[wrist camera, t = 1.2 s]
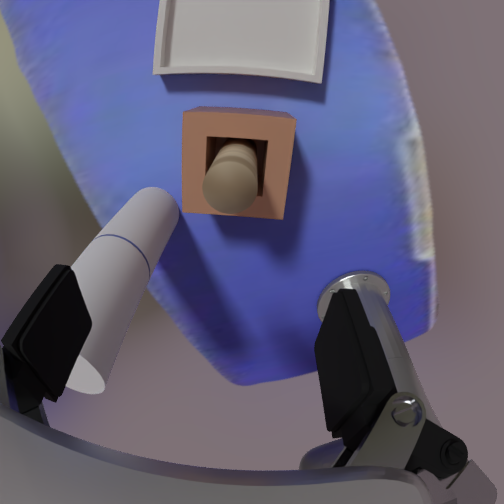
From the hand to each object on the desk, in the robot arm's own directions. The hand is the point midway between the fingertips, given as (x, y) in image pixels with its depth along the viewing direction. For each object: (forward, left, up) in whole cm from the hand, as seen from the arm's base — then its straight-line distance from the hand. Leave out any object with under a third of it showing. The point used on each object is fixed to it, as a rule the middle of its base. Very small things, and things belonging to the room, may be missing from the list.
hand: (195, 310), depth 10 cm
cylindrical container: (-9, +11, -27) cm, 30 cm away
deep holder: (0, 0, -27) cm, 27 cm away
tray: (+17, +1, -27) cm, 31 cm away
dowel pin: (0, 0, -26) cm, 26 cm away
